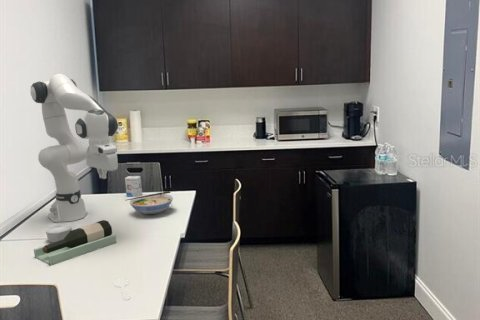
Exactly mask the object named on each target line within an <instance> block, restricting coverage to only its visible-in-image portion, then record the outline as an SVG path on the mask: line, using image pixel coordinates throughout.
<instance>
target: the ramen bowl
mask: <svg viewBox="0 0 480 320" xmlns="http://www.w3.org/2000/svg"><path fill="white" fill-rule="evenodd" d="M170 194H171V191H169V190H167V191H162V192H161V191H160V192H157V193H150V194H142V195H141V196H138V197H131V198H129V199H127V198H126V201H129V204H130V206H131V207H132V208H133V209H134V210H135V211H136V212H138V213H141V214H145V215H147V216H148V215H151V216H153V215H157V214H160V213H161V212H163V211H166V209H168V207H170V205H171V203H172V202H173V200H174V196H173V195H170Z"/></svg>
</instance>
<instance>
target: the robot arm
mask: <svg viewBox="0 0 480 320" xmlns="http://www.w3.org/2000/svg"><path fill="white" fill-rule="evenodd" d="M30 96H31V99H32V100H33V101H34V102H35V103H37V104H41V114H42V118H43V123H44V128H45V132H46V134H47V136H48V137H50V138H53V139H55V140H56V141H57V142H58V144H56V145H50V146H47V147H44V148H43V149H40V151H39V152H38V163H39V165H41V167H43V168H45V169H46V170H48V171H49V173H51V175H52V177H53V180H54V183H55V188H56V192H55V200H54V202H52V204H51V205H50V208H49V211H50V212H49V213H48V214H46V217H47V218H49V219H50V220H51V221H52V222H54V223H62V222H63V223H64V222H73V221H77V220H81V219H84V218H85V217H86V215H88V214H89V211H88V210H86V206H85V200H84V198H82V192H81V189H80V183H79V177H78V175H77V174H76V173H74V172H72V171H69V169H68V166H69V165H73V164H78V163H80V162H83V161H85V160H86V166H87V167H90V168H94V169H96V171H97V174H98V176H99V179H103V180H105V179H107V174H108V171H109V172H113V171H117V170H118V168H119V162H118V161H119V160H118V153H117V151H118V148H117V146H116V145H114V144H113V143H112V142H111V141H110V137H113V136H114V135H115V134H116V133H117V131H118V129H119V124H118V123H119V122H118V120H117V118H116V117H114V115H112V114H111V113H109V112H108V111H107V110H106V109H105V108H104V107H103V106H102V105H100V103H99V102H97V100H96V99H94V98H93V97H92V96H91V95H89V94H87V93H84V92H83V91H82V90H81V89H79V88H78V86H77V83H76V81H74V79H71V78H70V77H68V76H67V75H65V74H64V73H56V74H54V75H53V76H51V78H50V79H49V80H48V79H47V80H42V81H39V80H38V81H36V82H33V83H32V85H31V86H30ZM65 109H66V110H74V111H75V110H76V111H83V112H84V111H85V112H86V114H85V115H84V116H82V117H80V118H78V119H77V121H76V122H75V125H74V127H75V132H76V135H77V136H78V137H80V138H81V139H88V147H86V144H84V143H83V142H81V141H79V140H78V139H77V138H76V137H75V135H74V134H73V133H72V130H71V129H70V125H69V122H68V118H67V114H66V110H65Z"/></svg>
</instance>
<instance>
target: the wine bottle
mask: <svg viewBox="0 0 480 320" xmlns="http://www.w3.org/2000/svg"><path fill="white" fill-rule="evenodd" d="M111 235H113V228H112V225H111V224H110V222H109V220H106V219H105V220H104V219H103V220H100V221H96V222H93V223H90V224H87V225H84V226H81V227H78V228H75V229H71V231H70V232H69V233H68V234H67V236H66V237H65V238H64V239H63V240H60V241H57V242H54V243H52V242H50V243H48V244H45V245H43V246H44V247H43V246H42V247H43V252H44V253H47V254H48V253H50V252H53V251H56V250H59V249H62V248H65V247H68V248H74V247H77V246H80V245H83V244H86V243H89V242H92V241H95V240H98V239H101V238H104V237H107V236H111Z"/></svg>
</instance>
